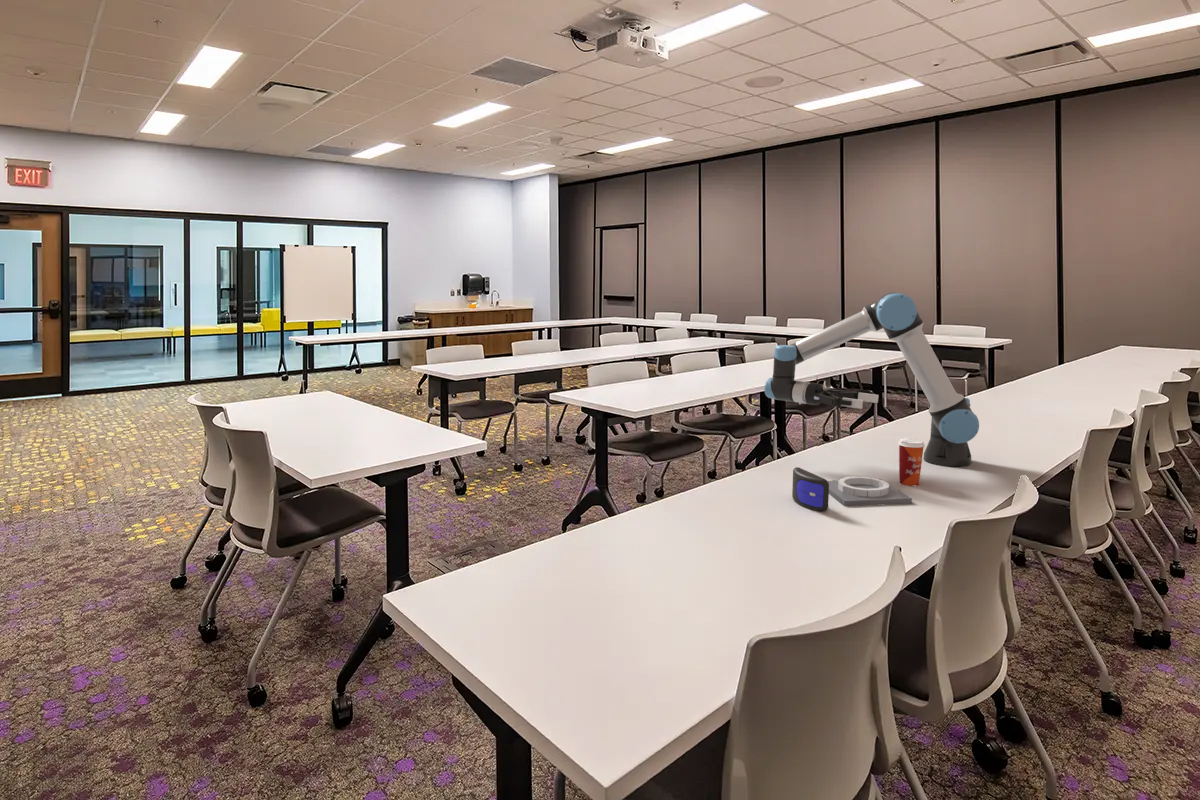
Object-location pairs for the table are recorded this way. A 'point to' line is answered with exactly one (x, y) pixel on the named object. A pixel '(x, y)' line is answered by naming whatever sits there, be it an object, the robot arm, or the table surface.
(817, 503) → the leaning round-cornered charcoal block
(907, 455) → the paper cup
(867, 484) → the collar board
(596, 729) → the table surface
